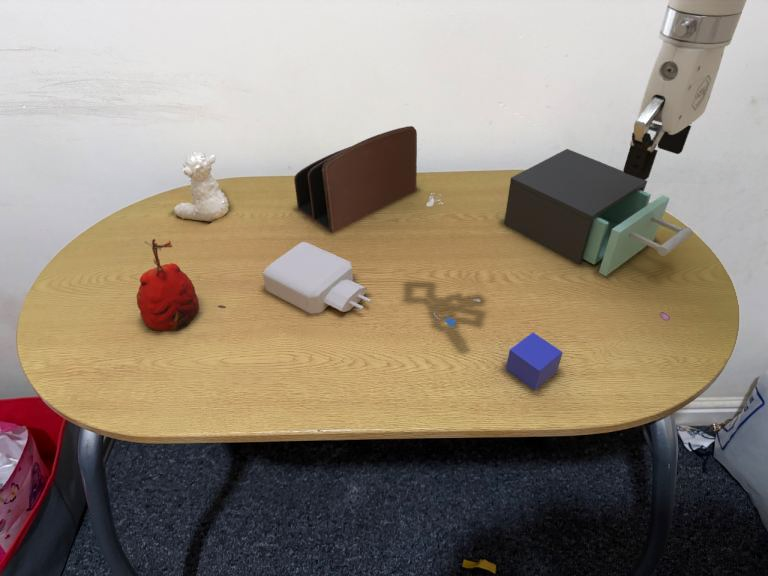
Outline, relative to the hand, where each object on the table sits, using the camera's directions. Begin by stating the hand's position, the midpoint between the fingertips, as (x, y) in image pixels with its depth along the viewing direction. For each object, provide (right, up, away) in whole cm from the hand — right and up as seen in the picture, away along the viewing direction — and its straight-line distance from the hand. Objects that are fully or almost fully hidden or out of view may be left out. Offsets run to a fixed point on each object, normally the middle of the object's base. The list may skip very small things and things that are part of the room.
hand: (652, 162), depth 72 cm
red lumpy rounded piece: (-65, -21, +3) cm, 69 cm away
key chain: (-27, -20, +3) cm, 34 cm away
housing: (-6, -7, +17) cm, 19 cm away
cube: (-18, -28, -6) cm, 34 cm away
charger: (-44, -18, +6) cm, 49 cm away
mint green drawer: (-1, -10, +12) cm, 16 cm away
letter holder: (-41, -2, +25) cm, 48 cm away
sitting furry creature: (-67, -4, +24) cm, 71 cm away
